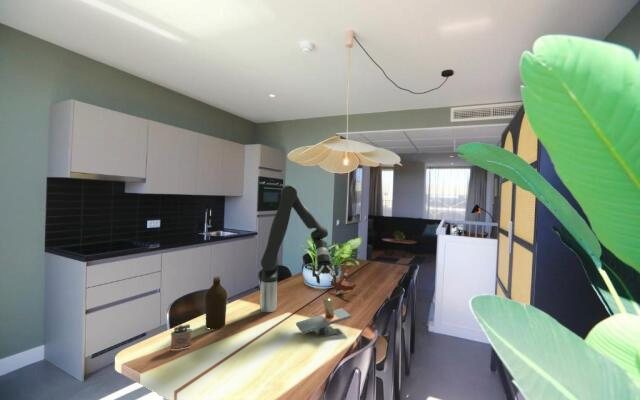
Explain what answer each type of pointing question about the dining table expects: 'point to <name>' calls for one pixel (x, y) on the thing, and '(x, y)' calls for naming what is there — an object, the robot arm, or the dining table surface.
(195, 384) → the dining table surface
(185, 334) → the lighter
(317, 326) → the seesaw board
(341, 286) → the decorative bird
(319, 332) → the pivot stand
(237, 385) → the dining table surface
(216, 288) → the olive oil
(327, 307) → the ball
